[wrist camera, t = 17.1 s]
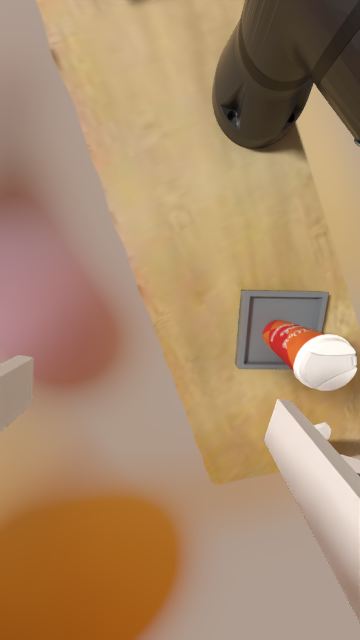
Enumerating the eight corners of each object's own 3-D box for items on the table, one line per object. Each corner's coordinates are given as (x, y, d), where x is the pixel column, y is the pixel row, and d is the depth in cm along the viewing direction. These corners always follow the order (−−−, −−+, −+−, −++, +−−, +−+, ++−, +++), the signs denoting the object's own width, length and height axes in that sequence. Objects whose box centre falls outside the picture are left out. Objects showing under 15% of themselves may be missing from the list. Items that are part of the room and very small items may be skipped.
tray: (241, 289, 40) (245, 290, 38) (319, 291, 40) (328, 292, 38) (235, 363, 44) (238, 369, 41) (307, 364, 44) (315, 369, 41)
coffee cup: (294, 309, 40) (361, 330, 25) (299, 346, 42) (364, 386, 27) (253, 320, 40) (295, 346, 26) (259, 356, 42) (303, 400, 28)
